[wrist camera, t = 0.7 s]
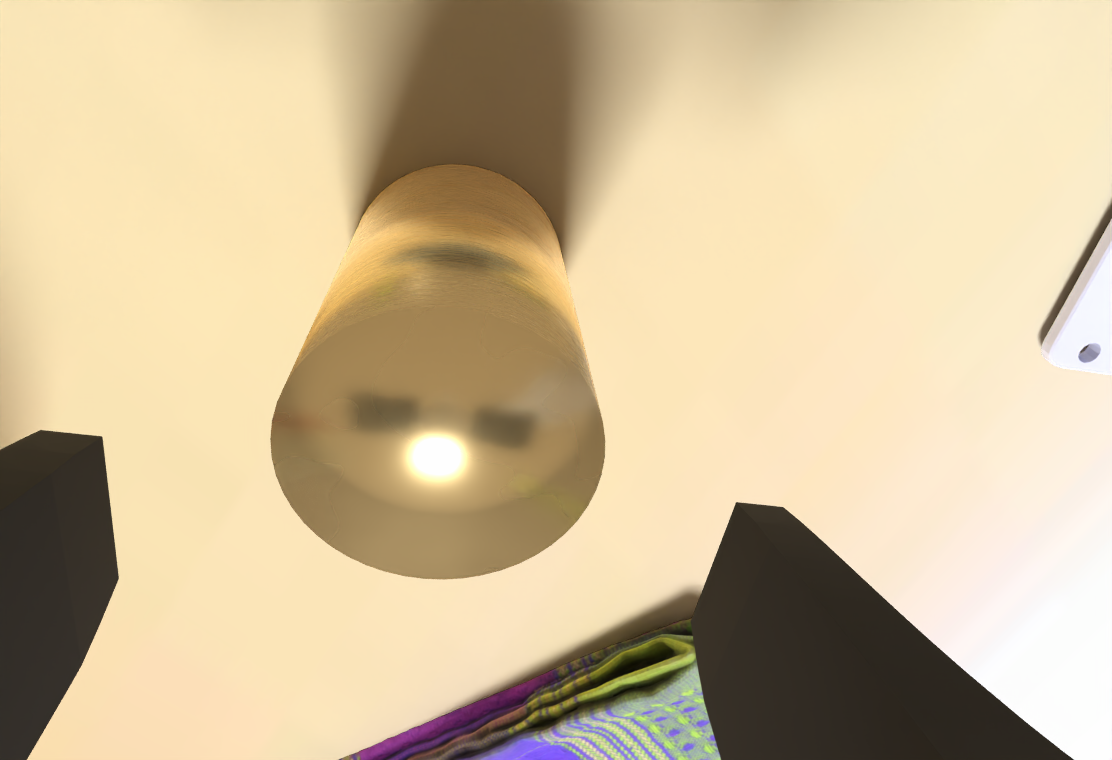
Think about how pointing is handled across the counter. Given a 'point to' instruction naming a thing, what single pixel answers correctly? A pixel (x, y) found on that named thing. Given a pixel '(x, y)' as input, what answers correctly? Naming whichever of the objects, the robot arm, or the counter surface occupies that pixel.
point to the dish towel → (580, 711)
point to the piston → (443, 386)
